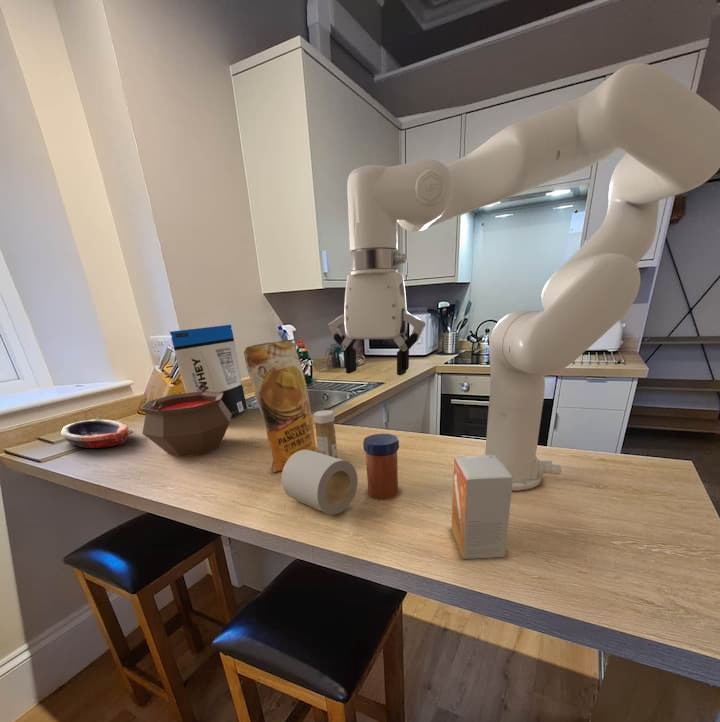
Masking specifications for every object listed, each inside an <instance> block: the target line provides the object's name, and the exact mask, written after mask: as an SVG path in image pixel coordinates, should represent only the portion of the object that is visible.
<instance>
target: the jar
mask: <svg viewBox="0 0 720 722" xmlns="http://www.w3.org/2000/svg"><path fill="white" fill-rule="evenodd" d="M365 464H366V477H367V479H366V480H367V494H368V495H369V497H370V498H373V499H375V500H376V499H377V500H389V499H393V498H395V497H396V496H397V495H398V494H399V468H398V467H399V464H398V450H397V451H396V452H395V453H392V454H388V455H371V454H368V453H366V452H365Z"/></svg>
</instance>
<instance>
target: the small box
mask: <svg viewBox="0 0 720 722" xmlns="http://www.w3.org/2000/svg"><path fill="white" fill-rule="evenodd" d="M512 483H513V476H512V475H511V474H510V472H509V471H508V470H507V469H506V467H505V466H504V464H503V463H501V462H500V460H499V459H498V458H497V457H496V456H495V455H485V454H484V455H471V456H469V455H468V456H459V457H454V458H453V480H452V505H451V527H450V528H451V532H452V534H453V537H454V539H455V541H456V542H455V543H456V544H457V547H458V550H459V552H460V555H461V558H462V559H463V560H472V559H491V558H492V559H493V558H504V557H505V556H506V548H507V539H508V529H509V520H510V513H511V512H510V511H511V502H512V501H511V500H512V493H513V490H512Z"/></svg>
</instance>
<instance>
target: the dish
mask: <svg viewBox="0 0 720 722" xmlns="http://www.w3.org/2000/svg"><path fill="white" fill-rule="evenodd" d="M60 434H61V436H62V437H63V438H64V439H65V440H66V441H67V442H68V443H70V444H71V445H73V446H77V447H81V448H84V449H85V448H86V449H99V448H109V447H114V446H119V445H121V444H123V443H125V442H126V440H127V438H128V434H129V426H128V425H126V424H125V423H124V422H120V421H118V420H117V421H116V420H112V419H111V420H109V419H102V418H100V417H96V419H89V420H88V419H86V420H79V421H76V422H75V421H74V422H72V423H69V424H67V425H65V426H63V427H62V428H61V430H60Z"/></svg>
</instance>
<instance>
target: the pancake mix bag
mask: <svg viewBox="0 0 720 722" xmlns="http://www.w3.org/2000/svg"><path fill="white" fill-rule="evenodd" d="M243 355H244V361H245V366H246V370H247V372H248V376H249V378H250V380H251V381H250V382H251V384H252V388H253V393H254V397H255V401H256V403H257V406H258V409H259V410H260V413H261V415H262V418H263V421H264V425H265V430H266V435H267V440H268V443H269V445H270V450H271V455H272V456H271V457H272V464H271V465H272V466H271V467H272V472H273V473H277V472H281V471H283V468H284V466H285V464H286V462H287V460H288V459H289V458H290V457H291V456H292V455H293V454H294V453H296V452H298V451H300V450H311V451H314V452H317V444H316V440H315V431H314V424H313V423H314V422H313V419H312V418H313V417H312V410H311V404H310V397H309V392H308V387H307V382H306V377H305V374H304V370H303V366H302V363H301V361H300V357H299V353H298V350H297V347H296V343H295V342H293V340H292V339H285V340H280V341H274V342H264V343H258V344H254V345H250V346H247V347H245V349H244V352H243Z"/></svg>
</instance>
